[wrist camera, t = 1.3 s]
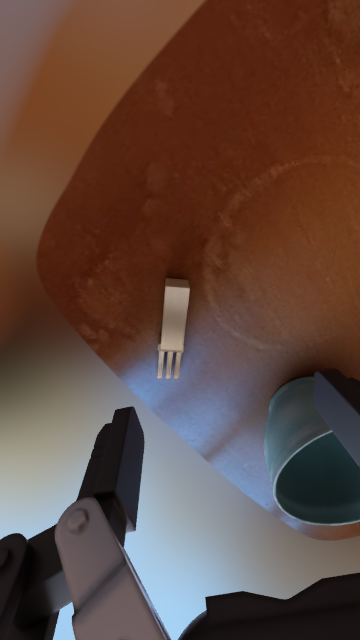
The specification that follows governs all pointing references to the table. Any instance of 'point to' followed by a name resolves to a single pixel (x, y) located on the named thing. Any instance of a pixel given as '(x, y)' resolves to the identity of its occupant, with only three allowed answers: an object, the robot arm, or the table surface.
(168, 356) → the fork
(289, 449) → the flower pot
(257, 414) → the table surface
